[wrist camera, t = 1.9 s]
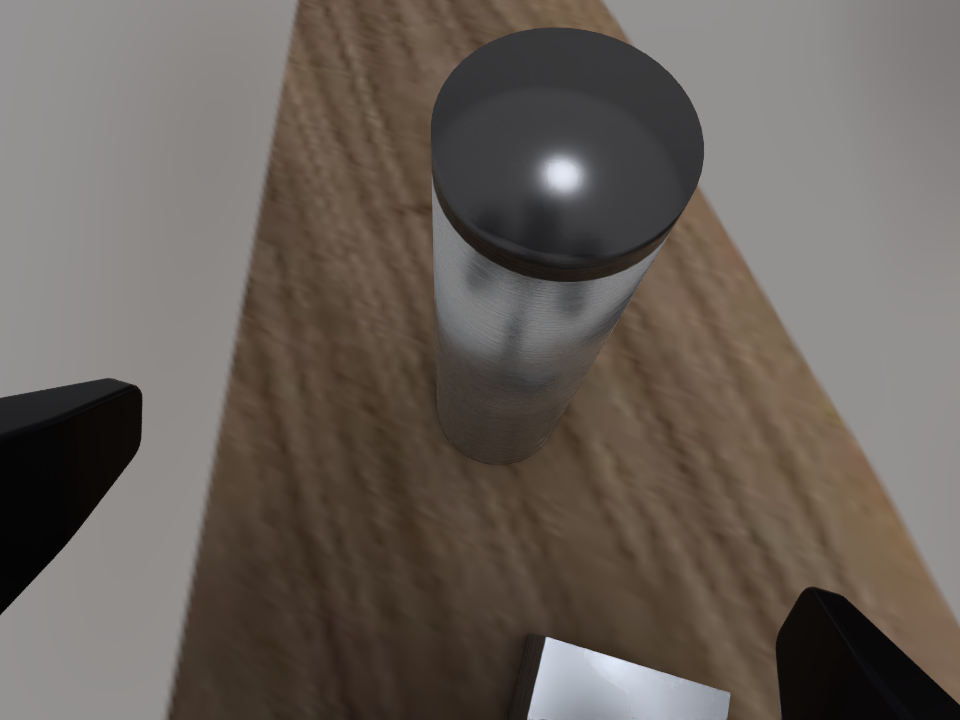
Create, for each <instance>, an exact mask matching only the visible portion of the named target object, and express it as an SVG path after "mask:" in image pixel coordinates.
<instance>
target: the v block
mask: <svg viewBox="0 0 960 720" xmlns="http://www.w3.org/2000/svg"><path fill="white" fill-rule="evenodd" d="M729 700H730V693H728V692H725V691H721V690H718V689H715V688H712V687H708V686H705V685H702V684H699V683H695V682H692V681H689V680H686V679H682V678H679V677H676V676H673V675H669V674H666V673H663V672H660V671H656V670H653V669H650V668H647V667H643V666H640V665H637V664H634V663H630V662H627V661H624V660H621V659H617V658H614V657H611V656H607V655H604V654H601V653H598V652H594V651H591V650H588V649H585V648H581V647H578V646H575V645H572V644H568V643H565V642H562V641H559V640H555V639H552V638H549V637H545V636H540V635H534V634H529V635H528V639H527V643H526V647H525V651H524V655H523V659H522V663H521V668H520V672H519V676H518V680H517V684H516V688H515V692H514V696H513V701H512V705H511V709H510V713H509V717H508V718H509V720H727V715H728V708H729Z"/></svg>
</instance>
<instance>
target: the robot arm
mask: <svg viewBox="0 0 960 720" xmlns="http://www.w3.org/2000/svg"><path fill="white" fill-rule="evenodd" d="M141 430H142V393H141V390H140V389H139V388H138V387H137V386H136V385H132V384H129V383H126V382H122V381H119V380H116V379H111V378H106V379H100V380H95V381H89V382H84V383H78V384H73V385H67V386H62V387H57V388H51V389H46V390H40V391H35V392H30V393H25V394H19V395H13V396H8V397H3V398H0V615H1V614H2V612H4V611H5V609H6V608H7V607H8V606H9V605H10V604H11V603H12V602H13V601H14V600H15V599H16V598H17V597H18V596H19V595H20V594H21V592H22V591H23V590H24V589H25V588H26V587H27V586H28V585H29V584H30V583H31V582H32V581H33V580H34V579H35V578H36V577H37V576H38V574H39V573H40V572H41V571H42V570H43V569H44V568H45V567H46V566H47V565H48V564H49V563H50V562H51V561H52V560H53V559H54V557H55V556H56V555H57V554H58V553H59V552H60V551H61V550H62V549H63V548H64V546H65V545H66V544H67V543H68V542H69V541H70V539H71V538H72V537H73V536H74V534H75V533H76V532H77V530H79V528H80V527H81V526H82V524H83V523H84V522H85V520H86V519H87V518H88V517H89V515H90V514H91V513H92V511H93V510H94V509H95V507H96V506H97V505H98V503H99V502H100V501H101V499H102V498H103V497H104V495H105V494H106V493H107V492H108V490H109V489H110V488H111V486H112V485H113V484H114V482H115V481H116V480H117V478H118V477H119V476H120V475H121V473H122V472H123V471H124V469H125V468H126V467H127V465H128V464H129V463H130V462H131V460H132V459H133V457H134V456H135V454H136V453H137V451H138V448H139V446H140V442H141V432H142V431H141ZM776 661H777V674H778V686H779V699H780V711H781V720H960V705H959V704H958V703H957V702H956V701H955V700H954V699H953V698H952V697H951V696H950V695H949V694H947V693H946V692H945V691H944V690H943V689H942V688H941V687H940V686H939V685H938V684H937V683H936V682H935V681H934V680H933V679H931V678H930V677H929V676H928V675H927V674H926V673H925V672H924V671H923V670H922V669H921V668H920V667H919V666H918V665H917V664H915V663H914V662H913V661H912V660H911V659H910V658H909V657H908V656H907V655H906V654H905V653H904V652H903V651H902V650H901V649H899V648H898V647H897V646H896V645H895V644H894V643H893V642H892V641H891V640H890V639H889V638H888V637H887V636H886V635H885V634H883V633H882V632H881V631H880V630H879V629H878V628H877V627H876V626H875V625H874V624H873V623H872V622H871V621H870V620H869V619H867V618H866V617H865V616H864V615H863V614H862V613H861V612H860V611H859V610H858V609H857V608H856V607H855V606H854V605H853V604H851V603H850V602H849V601H848V600H847V599H846V598H845V597H844V596H842V595H840V594H837V593H834V592H831V591H827V590H824V589H820V588H817V587H808V588H806V589H805V590H804V591H803V592H802V593H801V594H800V596H799V598H798V599H797V601H796V603H795V605H794V606H793V608H792V610H791V611H790V613H789V615H788V617H787V618H786V620H785V622H784V624H783V625H782V627H781V629H780V631H779V633H778V636H777V641H776Z"/></svg>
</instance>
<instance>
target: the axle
mask: <svg viewBox="0 0 960 720" xmlns="http://www.w3.org/2000/svg"><path fill="white" fill-rule="evenodd" d="M703 159H704V141H703V135H702V129H701V125H700V122H699V119H698V116H697V113H696V111H695V109H694V107H693V105H692V103H691V101H690V99H689V97H688V96H687V94H686V93H685V91H684V90H683V88H682V87H681V86H680V84H679V83H678V82H677V81H676V80H675V79H674V78H673V76H672V75H671V74H670V73H669V72H668V71H667V70H665V69H664V68H663V67H662V66H661V65H660V64H659V63H658V62H656V61H655V60H653V59H652V58H651V57H649V56H648V55H647V54H645V53H643V52H641V51H640V50H638V49H636V48H635V47H633V46H631V45H629V44H627V43H624V42H622V41H620V40H618V39H615V38H612V37H609V36H606V35H603V34H600V33H595V32H591V31H587V30H580V29H573V28H539V29H531V30H526V31H520V32H516V33H513V34H510V35H506V36H503V37H501V38H499V39H496V40H494V41H492V42H489V43H488V44H486V45H484V46H482V47H481V48H479V49H477V50H476V51H474V52H473V53H472V54H470V55H469V56H468V57H467V58H465V59H464V60H463V61H462V62H461V63H460V64H459V65H458V66H457V67H456V68H455V69H454V70H453V72H452V73H451V74H450V76H449V77H448V78H447V80H446V81H445V83H444V84H443V86H442V88H441V90H440V92H439V94H438V97H437V100H436V103H435V105H434V108H433V114H432V120H431V161H432V205H433V248H434V292H435V335H436V379H437V411H438V418H439V421H440V425H441V427H442V429H443V431H444V433H445V435H446V436H447V438H448V439H449V441H450V442H451V443H452V444H453V445H454V446H455V447H456V448H457V449H458V450H459V451H460V452H462V453H463V454H464V455H466V456H468V457H470V458H472V459H474V460H477V461H479V462H483V463H487V464H495V465H497V464H510V463H514V462H518V461H521V460H523V459H525V458H527V457H529V456H531V455H532V454H534V453H535V452H536V451H537V450H539V449H540V448H541V447H542V446H543V445H544V444H545V442H546V441H547V439H548V438H549V437H550V435H551V433H552V431H553V430H554V428H555V426H556V425H557V423H558V421H559V420H560V418H561V416H562V415H563V413H564V411H565V410H566V408H567V406H568V404H569V403H570V401H571V399H572V398H573V396H574V394H575V393H576V391H577V389H578V388H579V386H580V384H581V382H582V381H583V379H584V377H585V376H586V374H587V372H588V371H589V369H590V367H591V366H592V364H593V362H594V361H595V359H596V357H597V355H598V354H599V352H600V350H601V349H602V347H603V345H604V344H605V342H606V340H607V339H608V337H609V335H610V334H611V332H612V330H613V328H614V327H615V325H616V323H617V322H618V320H619V318H620V317H621V315H622V313H623V312H624V310H625V308H626V306H627V305H628V303H629V301H630V300H631V298H632V296H633V295H634V293H635V291H636V290H637V288H638V286H639V285H640V283H641V281H642V279H643V278H644V276H645V274H646V273H647V271H648V269H649V268H650V266H651V264H652V263H653V261H654V259H655V258H656V256H657V254H658V252H659V251H660V249H661V247H662V246H663V244H664V242H665V241H666V239H667V237H668V236H669V234H670V232H671V231H672V229H673V227H674V225H675V224H676V222H677V220H678V219H679V217H680V215H681V214H682V212H683V210H684V209H685V207H686V205H687V203H688V202H689V200H690V198H691V196H692V194H693V193H694V191H695V189H696V187H697V184H698V181H699V178H700V175H701V172H702V166H703Z"/></svg>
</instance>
